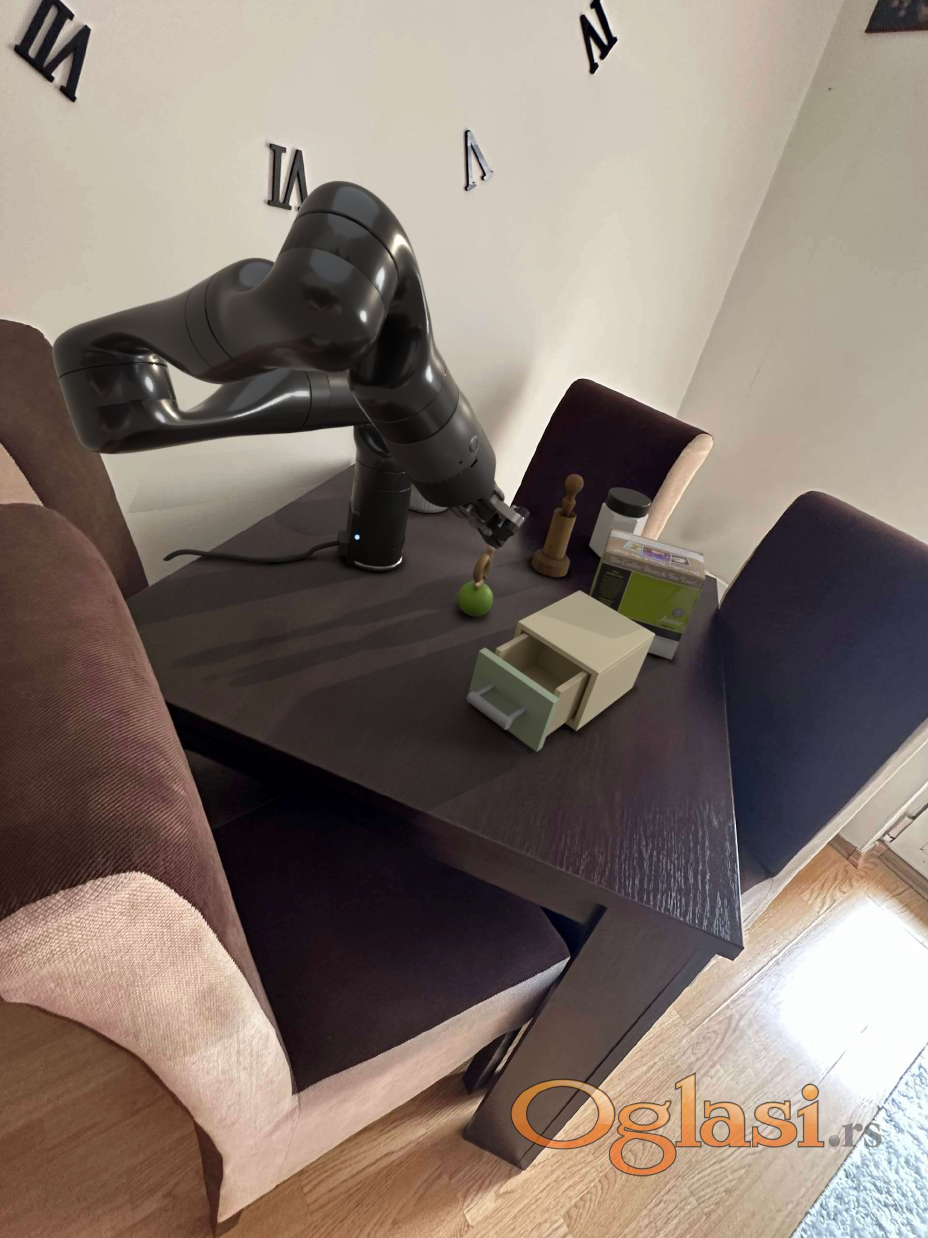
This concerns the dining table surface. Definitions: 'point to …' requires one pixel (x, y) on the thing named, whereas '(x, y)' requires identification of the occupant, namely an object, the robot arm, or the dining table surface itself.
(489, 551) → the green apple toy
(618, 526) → the jar
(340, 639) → the dining table surface
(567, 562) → the mortar and pestle
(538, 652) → the drawer
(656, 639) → the tea box
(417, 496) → the ramekin
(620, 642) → the cabinet
